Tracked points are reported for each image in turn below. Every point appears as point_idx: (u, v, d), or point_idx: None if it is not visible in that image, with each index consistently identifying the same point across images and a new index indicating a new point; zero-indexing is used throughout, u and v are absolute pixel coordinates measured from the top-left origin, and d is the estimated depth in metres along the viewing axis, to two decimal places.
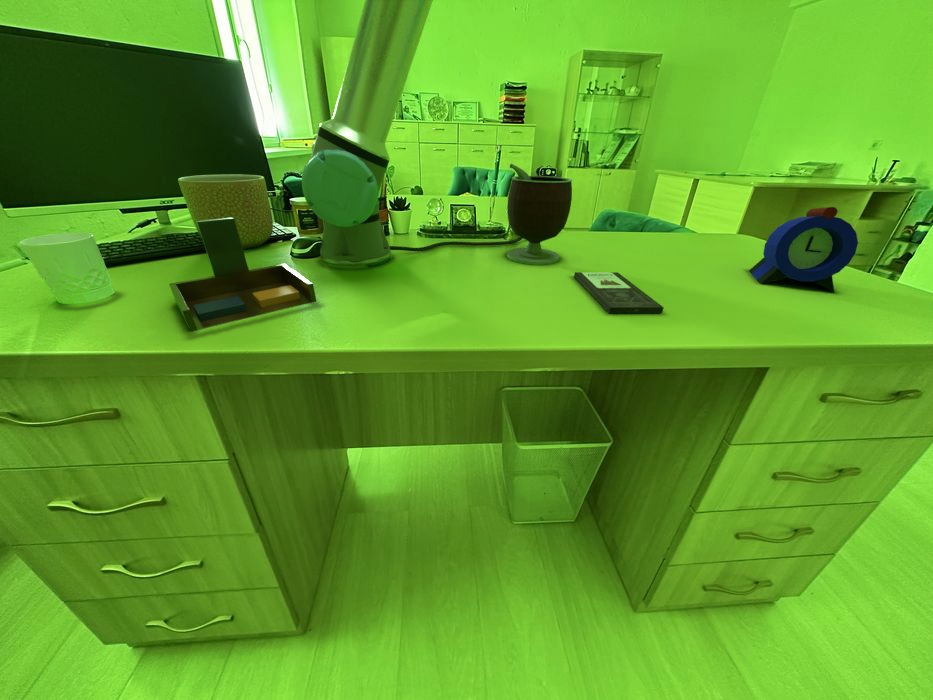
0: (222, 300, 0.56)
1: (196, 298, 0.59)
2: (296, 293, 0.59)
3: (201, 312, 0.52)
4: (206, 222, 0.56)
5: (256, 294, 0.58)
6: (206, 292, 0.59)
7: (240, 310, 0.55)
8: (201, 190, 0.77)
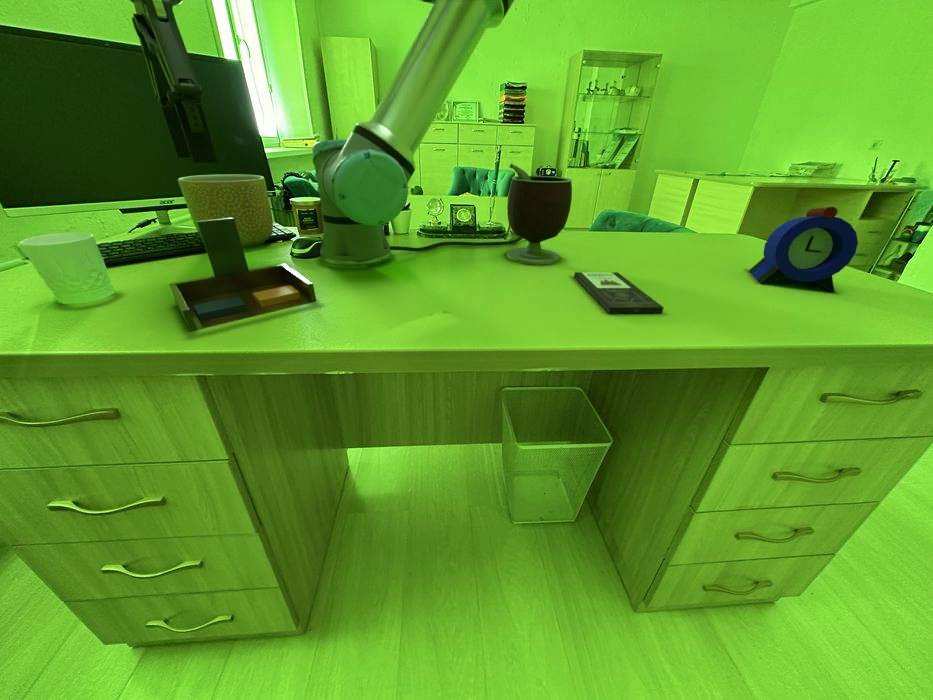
0: (222, 300, 0.56)
1: (196, 298, 0.59)
2: (296, 293, 0.59)
3: (201, 312, 0.52)
4: (206, 222, 0.56)
5: (256, 294, 0.58)
6: (206, 292, 0.59)
7: (240, 310, 0.55)
8: (201, 190, 0.77)
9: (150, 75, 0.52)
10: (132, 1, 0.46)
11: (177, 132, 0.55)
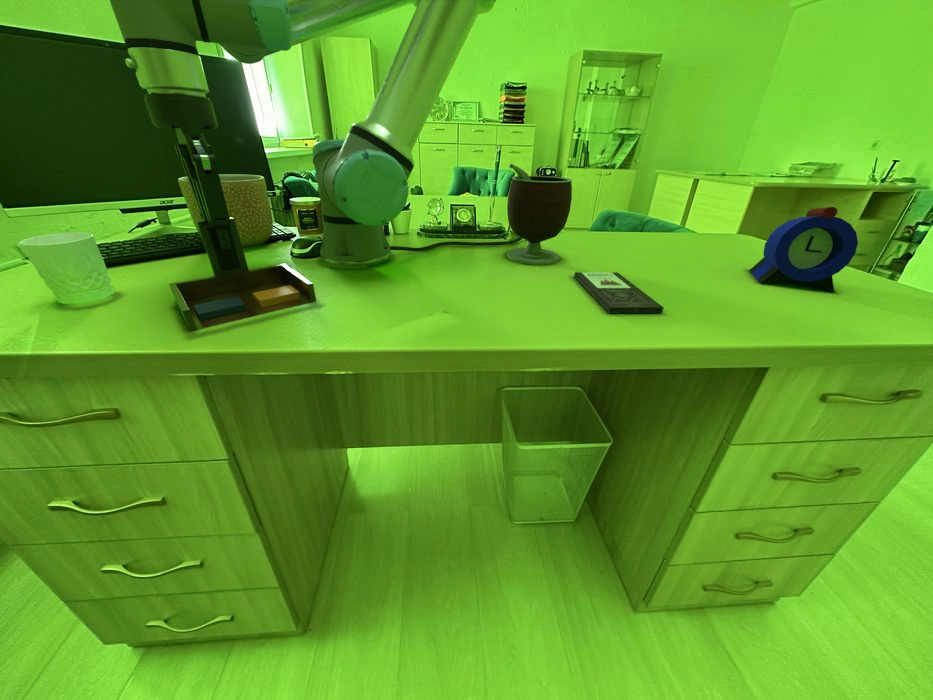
0: (222, 300, 0.56)
1: (196, 298, 0.59)
2: (296, 293, 0.59)
3: (201, 312, 0.52)
4: (206, 222, 0.56)
5: (256, 294, 0.58)
6: (206, 292, 0.59)
7: (240, 310, 0.55)
8: None
9: (194, 196, 0.57)
10: (174, 127, 0.52)
11: None
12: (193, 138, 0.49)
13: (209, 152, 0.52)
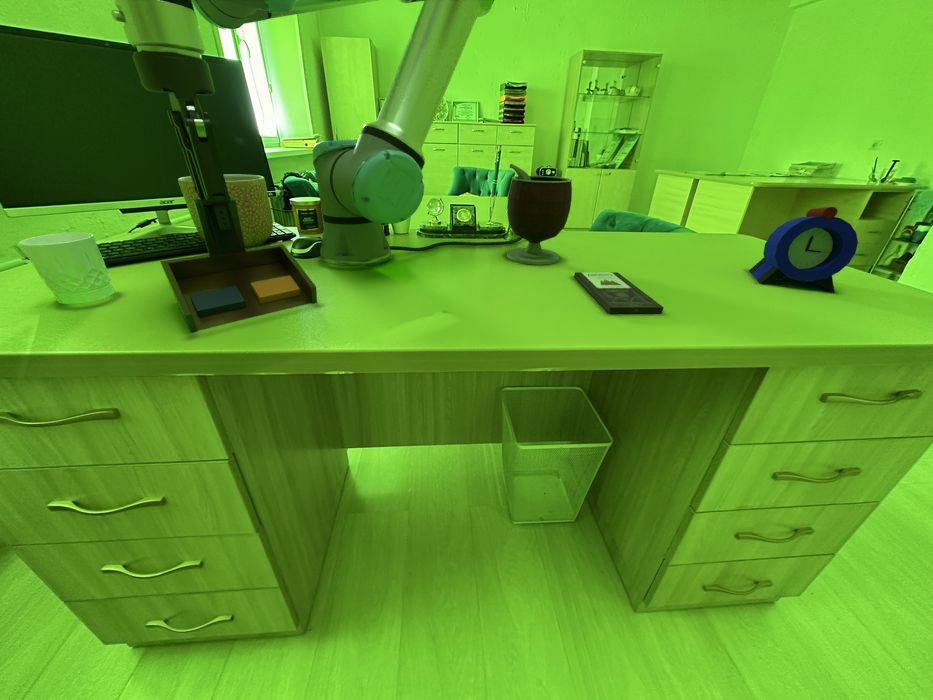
0: (220, 291, 0.54)
1: (188, 276, 0.56)
2: (297, 290, 0.59)
3: (200, 308, 0.51)
4: None
5: (255, 286, 0.57)
6: (199, 271, 0.57)
7: (239, 306, 0.54)
8: None
9: (188, 168, 0.54)
10: (167, 92, 0.48)
11: None
12: (187, 103, 0.45)
13: None
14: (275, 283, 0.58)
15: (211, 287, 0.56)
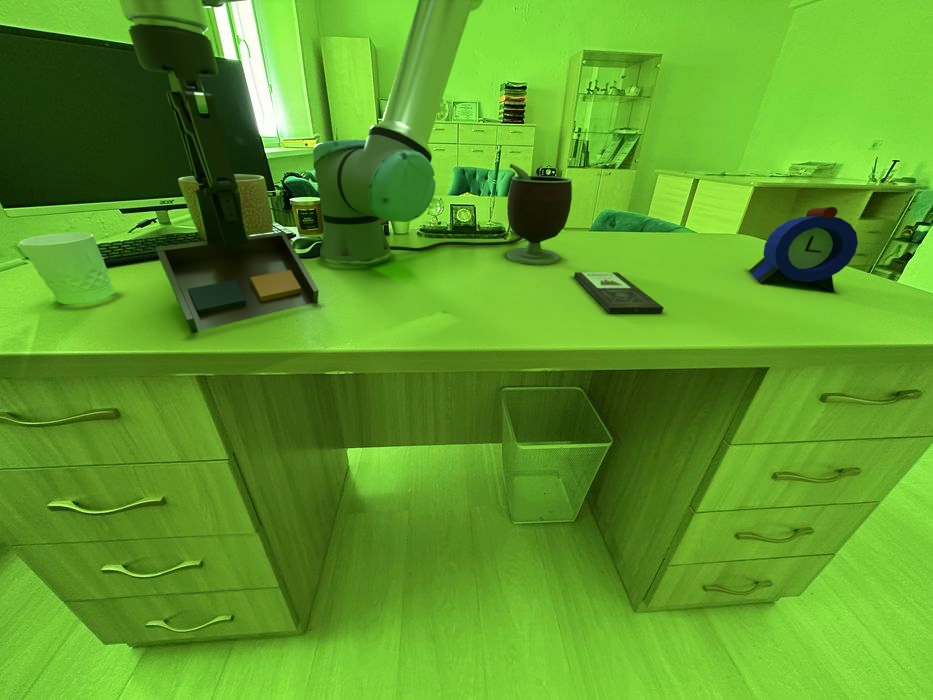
0: (219, 286, 0.53)
1: (184, 262, 0.54)
2: (298, 289, 0.58)
3: (200, 307, 0.50)
4: (207, 196, 0.48)
5: (255, 281, 0.56)
6: (195, 257, 0.55)
7: (239, 305, 0.54)
8: None
9: (186, 151, 0.51)
10: (166, 73, 0.44)
11: None
12: (188, 83, 0.41)
13: None
14: (276, 279, 0.57)
15: (208, 277, 0.55)
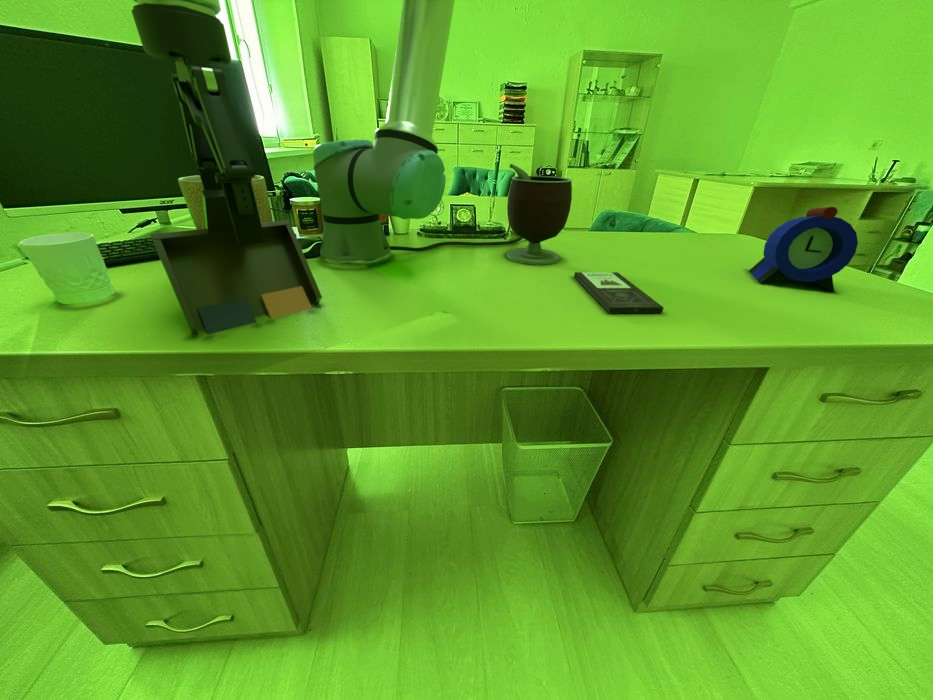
0: (229, 305, 0.51)
1: (180, 247, 0.51)
2: None
3: (210, 331, 0.49)
4: (216, 198, 0.44)
5: (266, 300, 0.54)
6: (192, 243, 0.51)
7: None
8: (201, 190, 0.77)
9: (187, 134, 0.46)
10: (173, 61, 0.40)
11: None
12: None
13: None
14: (287, 298, 0.56)
15: (207, 267, 0.52)
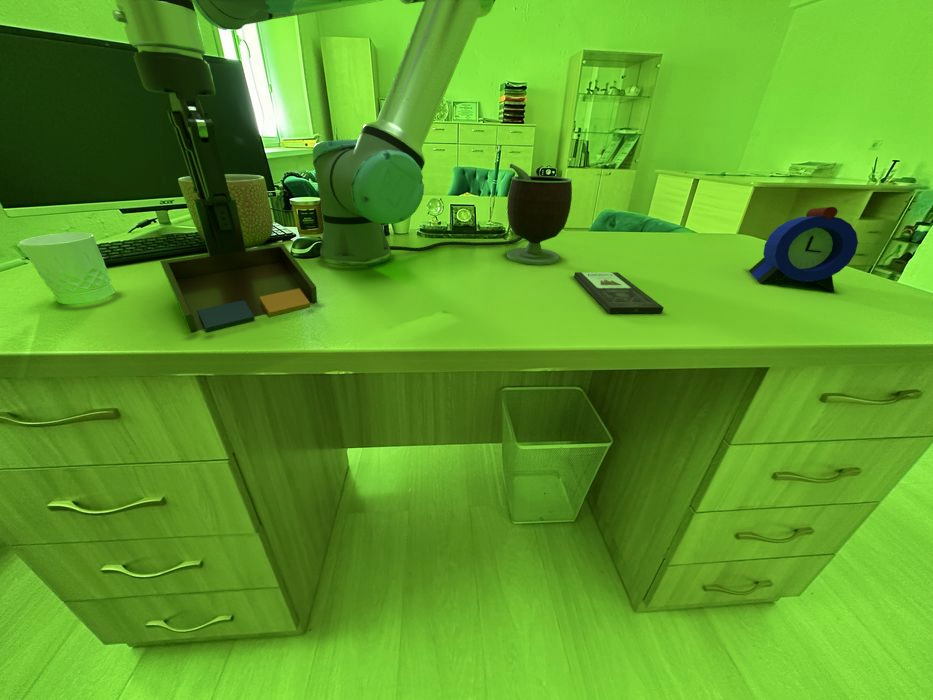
0: (228, 306, 0.53)
1: (188, 276, 0.56)
2: (307, 304, 0.57)
3: (208, 325, 0.49)
4: None
5: (264, 300, 0.55)
6: (199, 271, 0.57)
7: None
8: None
9: (188, 169, 0.54)
10: (167, 92, 0.48)
11: None
12: (188, 104, 0.45)
13: None
14: (284, 297, 0.57)
15: (211, 286, 0.56)
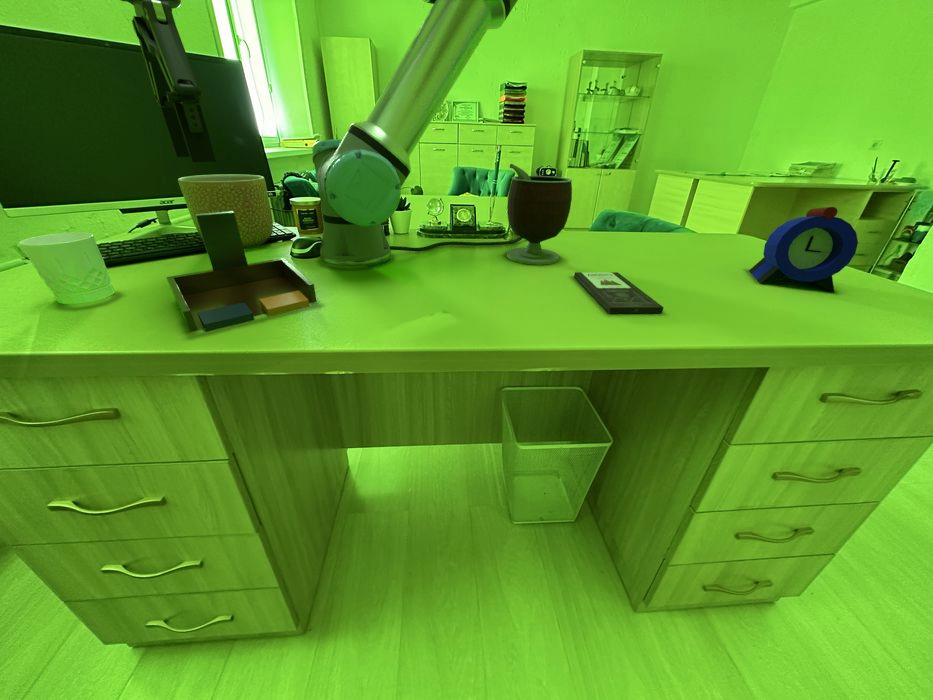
0: (228, 307, 0.53)
1: (194, 292, 0.58)
2: (305, 301, 0.57)
3: (206, 322, 0.49)
4: (205, 216, 0.55)
5: (263, 301, 0.56)
6: (204, 286, 0.59)
7: (247, 319, 0.52)
8: (201, 190, 0.77)
9: (149, 76, 0.53)
10: (132, 4, 0.47)
11: (176, 131, 0.56)
12: None
13: None
14: (284, 297, 0.57)
15: (214, 298, 0.58)
